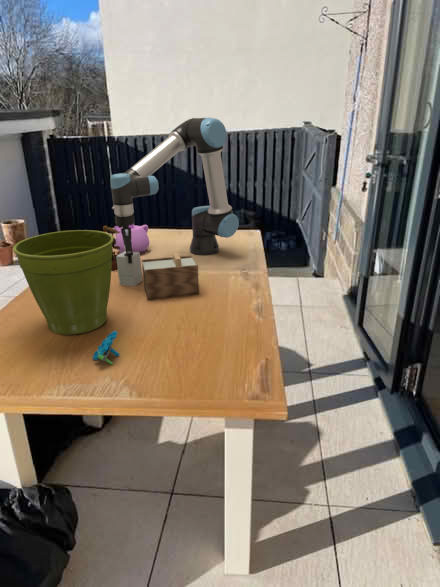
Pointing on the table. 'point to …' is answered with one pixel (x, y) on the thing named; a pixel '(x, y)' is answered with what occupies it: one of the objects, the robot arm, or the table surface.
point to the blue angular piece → (106, 348)
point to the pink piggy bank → (134, 238)
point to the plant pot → (69, 277)
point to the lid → (169, 263)
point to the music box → (114, 260)
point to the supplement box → (129, 276)
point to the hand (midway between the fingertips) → (130, 265)
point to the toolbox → (170, 280)
